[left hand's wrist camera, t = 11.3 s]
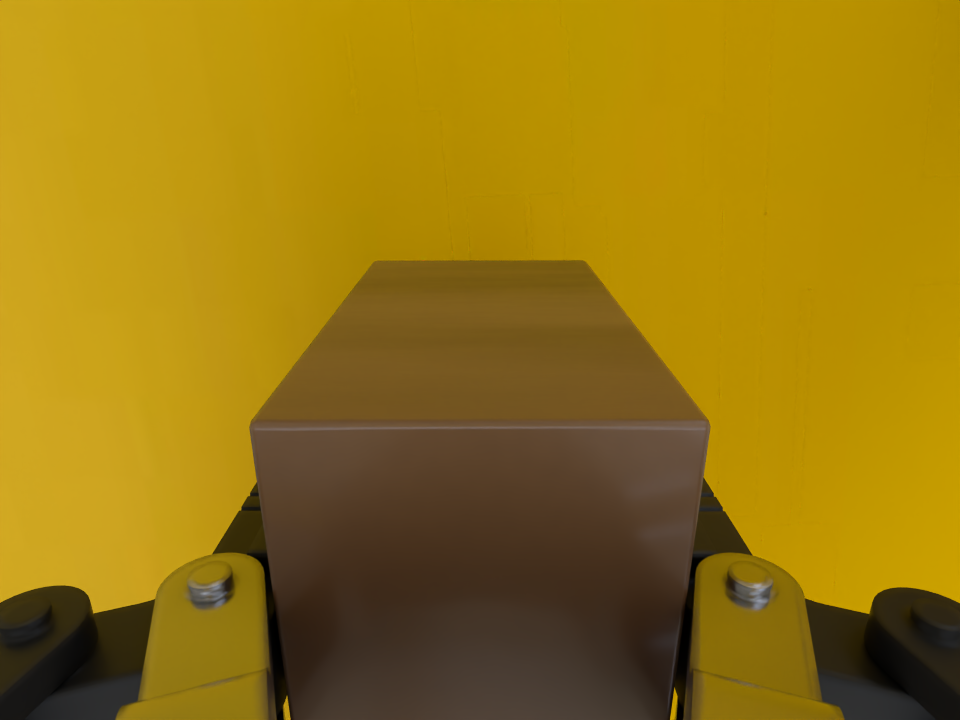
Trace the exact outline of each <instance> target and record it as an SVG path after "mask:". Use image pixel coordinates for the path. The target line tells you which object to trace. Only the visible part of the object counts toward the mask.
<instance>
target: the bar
mask: <svg viewBox="0 0 960 720" xmlns="http://www.w3.org/2000/svg"><path fill="white" fill-rule="evenodd" d="M249 428H250V435H251V442H252V449H253V456H254V463H255V470H256V477H257V484H258V491H259V499H260V506H261V513H262V520H263V527H264V534H265V541H266V548H267V555H268V562H269V569H270V576H271V583H272V590H273V597H274V605H275V612H276V619H277V626H278V633H279V640H280V647H281V654H282V661H283V668H284V675H285V682H286V689H287V696H288V704H289V711H290V718H291V720H670V715H671V707H672V700H673V693H674V686H675V679H676V671H677V664H678V657H679V650H680V642H681V635H682V628H683V621H684V613H685V606H686V599H687V592H688V584H689V577H690V570H691V563H692V556H693V548H694V541H695V534H696V527H697V519H698V512H699V505H700V498H701V490H702V483H703V476H704V469H705V461H706V454H707V447H708V440H709V432H710V424H709V421H708V419H707V418H706V417H705V415H704V414H703V413H702V411H701V410H700V409H699V408H698V406H697V405H696V404H695V402H694V401H693V400H692V398H691V397H690V396H689V395H688V393H687V392H686V391H685V389H684V388H683V387H682V386H681V384H680V383H679V382H678V380H677V379H676V378H675V376H674V375H673V374H672V373H671V371H670V370H669V369H668V367H667V366H666V365H665V364H664V362H663V361H662V360H661V358H660V357H659V356H658V354H657V353H656V352H655V351H654V349H653V348H652V347H651V345H650V344H649V343H648V342H647V340H646V339H645V338H644V336H643V335H642V334H641V332H640V331H639V330H638V329H637V327H636V326H635V325H634V323H633V322H632V321H631V320H630V318H629V317H628V316H627V314H626V313H625V312H624V311H623V309H622V308H621V307H620V305H619V304H618V303H617V301H616V300H615V299H614V298H613V296H612V295H611V294H610V292H609V291H608V290H607V289H606V287H605V286H604V285H603V283H602V282H601V281H600V279H599V278H598V277H597V276H596V274H595V273H594V272H593V270H592V269H591V268H590V267H589V265H588V264H587V263H586V262H585V261H375V262H373V264H372V265H371V266H370V268H369V269H368V270H367V271H366V273H365V274H364V275H363V277H362V278H361V279H360V281H359V282H358V283H357V284H356V286H355V287H354V288H353V290H352V291H351V292H350V293H349V295H348V296H347V297H346V299H345V300H344V301H343V303H342V304H341V305H340V306H339V308H338V309H337V310H336V312H335V313H334V314H333V316H332V317H331V318H330V319H329V321H328V322H327V323H326V325H325V326H324V327H323V329H322V330H321V331H320V332H319V334H318V335H317V336H316V338H315V339H314V340H313V342H312V343H311V344H310V345H309V347H308V348H307V349H306V351H305V352H304V353H303V355H302V356H301V357H300V358H299V360H298V361H297V362H296V364H295V365H294V366H293V368H292V369H291V370H290V371H289V373H288V374H287V375H286V377H285V378H284V379H283V380H282V382H281V383H280V384H279V386H278V387H277V388H276V390H275V391H274V392H273V393H272V395H271V396H270V397H269V399H268V400H267V401H266V403H265V404H264V405H263V406H262V408H261V409H260V410H259V412H258V413H257V414H256V416H255V417H254V418H253V419H252V421H251V423H250V427H249Z"/></svg>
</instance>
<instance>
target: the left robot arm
mask: <svg viewBox="0 0 960 720" xmlns="http://www.w3.org/2000/svg"><path fill="white" fill-rule="evenodd" d="M674 687H675V690H676V693H677V696H678V698H677V705H676V712H675V719H674V720H960V603H958V602H956V601H954V600H951V599H949V598H947V597H944V596H941V595H939V594H936V593H932V592H929V591H925V590H920V589H915V588H890V589H887V590H883V591H882V592H880V593H878V594H877V595H876V596H875V597H874V600H873V602H872V606H871V610H870V614H866V613H861V612H857V611H852V610H848V609H843V608H839V607H834V606H829V605H825V604H821V603H817V602H814V601H811V600H808V599H805V598H804V594H803V591H802V589H801V587H800V585H799V584H798V583H797V581H796V580H795V579H794V578H793V577H792V576H791V575H790V574H789V573H787V572H786V571H785V570H783V569H782V568H780V567H779V566H777V565H775V564H773V563H771V562H769V561H767V560H764V559H762V558H759V557H756V556H753V555H752V554H751V552H750V551H749V549H748V547H747V546H746V544H745V543H744V541H743V539H742V538H741V536H740V535H739V533H738V532H737V530H736V528H735V527H734V525H733V524H732V522H731V520H730V519H729V517H728V516H727V514H726V512H725V511H723V508H722V506H721V504H720V503H719V501H718V500H717V498H716V497H714V493H713V492H712V490H711V489H710V487H709V485H708V484H707V482H706V481H705V479H704V477H703V483H702V490H701V498H700V505H699V512H698V519H697V527H696V534H695V541H694V548H693V556H692V563H691V570H690V577H689V584H688V592H687V599H686V606H685V613H684V621H683V628H682V635H681V642H680V650H679V657H678V664H677V671H676V679H675V686H674ZM286 696H287V689H286V682H285V675H284V668H283V661H282V654H281V647H280V640H279V633H278V626H277V619H276V612H275V605H274V597H273V590H272V583H271V576H270V569H269V562H268V555H267V548H266V541H265V534H264V527H263V520H262V513H261V506H260V499H259V491H258V484H257V483H256V484H255V486H254V488H253V489H252V491H251V492H250V496H248V497H247V499H246V501H245V502H244V504H243V505H242V509H241V511H239V512H238V513H237V515H236V517H235V518H234V520H233V522H232V523H231V525H230V526H229V528H228V530H227V531H226V533H225V534H224V536H223V538H222V539H221V541H220V543H219V544H218V546H217V547H216V549H215V551H214V552H213V554H212V555H208V556H204V557H201V558H198V559H196V560H193V561H191V562H189V563H187V564H185V565H183V566H181V567H180V568H178V569H177V570H175V571H174V572H173V573H171V574H170V575H169V576H168V577H167V578H166V579H165V580H164V581H163V583H162V584H161V585H160V587H159V589H158V591H157V594H156V598H155V599H154V600H151V601H148V602H144V603H140V604H135V605H131V606H126V607H122V608H117V609H113V610H108V611H103V612H99V613H94V614H93V610H92V607H91V603H90V600H89V597H88V595H87V594H86V593H85V592H84V591H82V590H81V589H79V588H75V587H71V586H49V587H43V588H38V589H34V590H31V591H27V592H24V593H21V594H19V595H16V596H14V597H11V598H9V599H7V600H5V601H3V602H1V603H0V720H286V719H285V712H284V702H285V699H286Z"/></svg>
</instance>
